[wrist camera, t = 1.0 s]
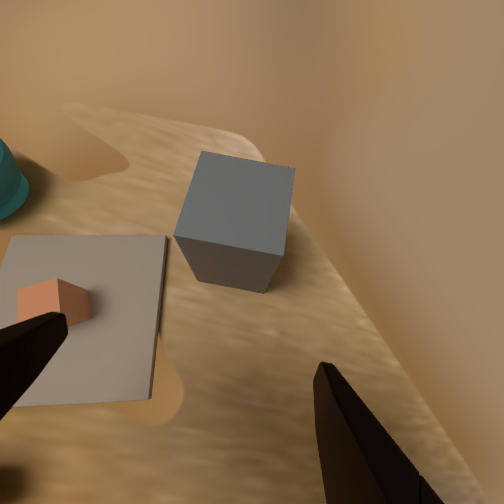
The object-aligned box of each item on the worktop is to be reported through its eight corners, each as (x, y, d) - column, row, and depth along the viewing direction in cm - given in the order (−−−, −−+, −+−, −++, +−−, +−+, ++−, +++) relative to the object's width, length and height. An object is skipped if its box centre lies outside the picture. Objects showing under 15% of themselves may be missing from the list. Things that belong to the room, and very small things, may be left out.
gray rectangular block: (263, 293, 23) (283, 256, 14) (197, 281, 23) (173, 235, 14) (273, 234, 26) (295, 168, 16) (213, 222, 26) (201, 150, 16)
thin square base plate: (151, 398, 19) (126, 412, 15) (-41, 407, 18) (-128, 426, 14) (167, 238, 25) (152, 213, 20) (19, 238, 24) (-31, 213, 19)
